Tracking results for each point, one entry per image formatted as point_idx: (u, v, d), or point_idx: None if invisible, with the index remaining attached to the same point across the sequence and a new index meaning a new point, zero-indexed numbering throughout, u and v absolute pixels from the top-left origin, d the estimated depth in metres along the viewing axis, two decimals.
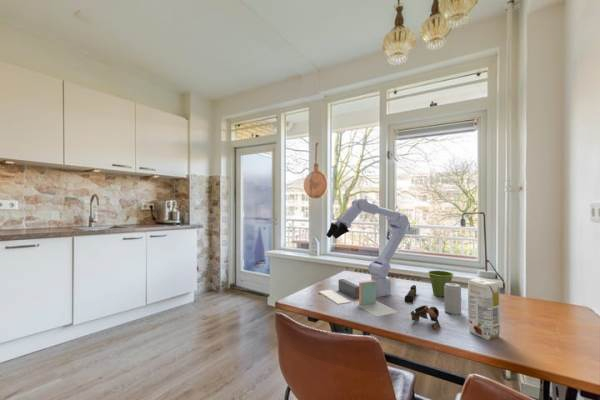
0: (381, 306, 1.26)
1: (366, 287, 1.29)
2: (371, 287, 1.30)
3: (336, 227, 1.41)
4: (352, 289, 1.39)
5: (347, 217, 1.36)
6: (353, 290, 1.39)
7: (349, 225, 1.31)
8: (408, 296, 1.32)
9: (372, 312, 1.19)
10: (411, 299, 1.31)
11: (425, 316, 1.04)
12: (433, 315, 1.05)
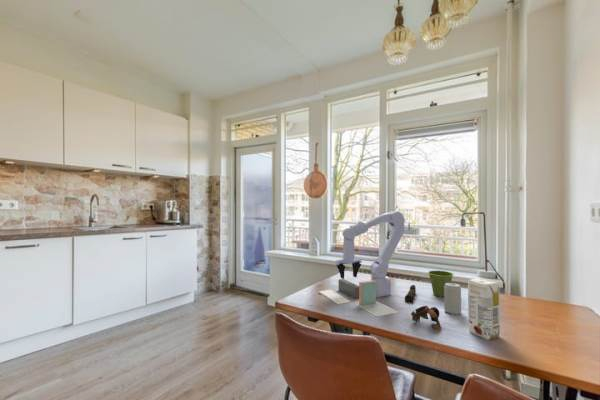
0: (381, 306, 1.26)
1: (366, 287, 1.29)
2: (371, 287, 1.30)
3: (355, 264, 1.46)
4: (352, 289, 1.39)
5: (343, 254, 1.45)
6: (353, 290, 1.39)
7: (336, 262, 1.42)
8: (408, 296, 1.32)
9: (372, 312, 1.19)
10: (411, 299, 1.31)
11: (426, 316, 1.04)
12: (434, 315, 1.04)
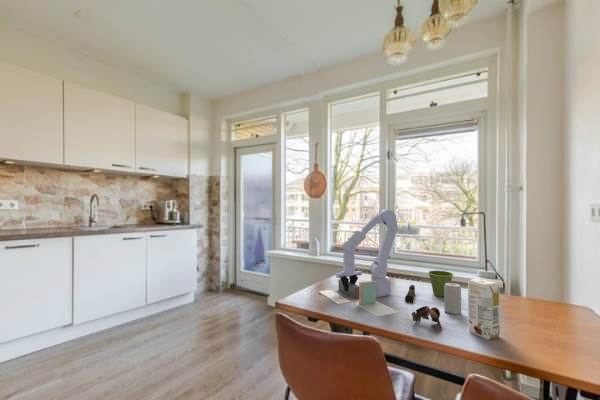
0: (381, 306, 1.26)
1: (366, 287, 1.29)
2: (371, 287, 1.30)
3: (352, 277, 1.45)
4: (352, 288, 1.39)
5: (343, 266, 1.45)
6: (353, 289, 1.39)
7: (337, 275, 1.42)
8: (408, 296, 1.32)
9: (372, 312, 1.19)
10: (411, 299, 1.31)
11: (427, 316, 1.03)
12: (434, 316, 1.04)
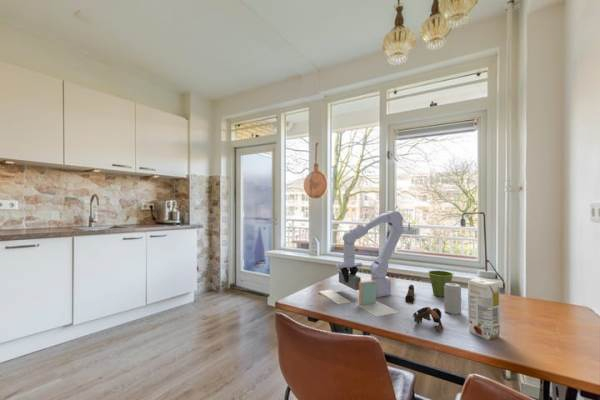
0: (381, 306, 1.26)
1: (366, 287, 1.29)
2: (371, 287, 1.30)
3: (352, 269, 1.45)
4: (352, 279, 1.39)
5: None
6: (353, 280, 1.39)
7: (337, 267, 1.42)
8: (409, 296, 1.32)
9: (372, 312, 1.19)
10: (412, 299, 1.31)
11: (428, 317, 1.03)
12: (436, 317, 1.03)
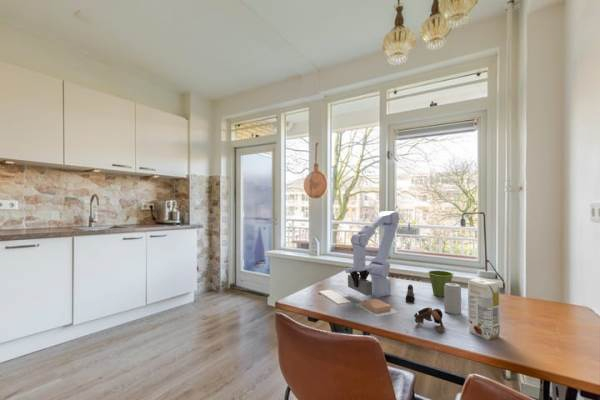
0: None
1: None
2: None
3: (362, 273, 1.37)
4: (363, 284, 1.30)
5: (353, 261, 1.37)
6: (364, 285, 1.30)
7: (346, 270, 1.33)
8: (409, 296, 1.32)
9: (372, 312, 1.19)
10: (412, 299, 1.31)
11: (429, 318, 1.02)
12: (437, 317, 1.02)
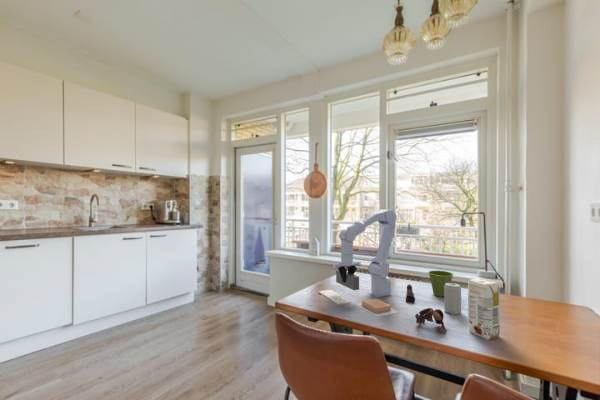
0: None
1: None
2: None
3: (350, 268, 1.38)
4: (350, 279, 1.32)
5: (341, 256, 1.38)
6: (351, 280, 1.31)
7: (334, 265, 1.35)
8: (409, 296, 1.32)
9: (372, 312, 1.19)
10: (412, 299, 1.31)
11: (431, 319, 1.01)
12: (439, 318, 1.02)
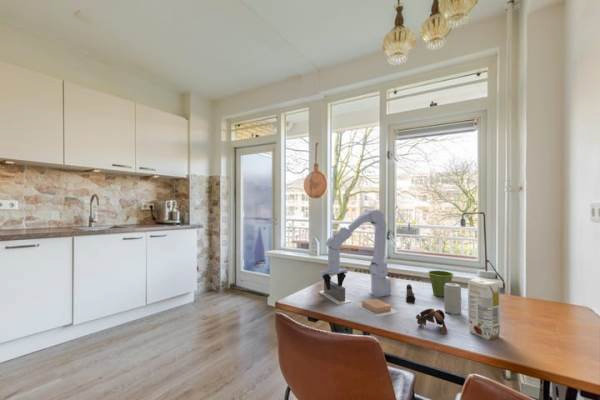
0: None
1: None
2: None
3: (339, 275, 1.40)
4: (337, 290, 1.33)
5: (328, 264, 1.40)
6: (337, 291, 1.33)
7: (321, 273, 1.36)
8: (410, 296, 1.32)
9: (372, 312, 1.19)
10: (413, 299, 1.31)
11: (432, 319, 1.01)
12: (440, 319, 1.01)
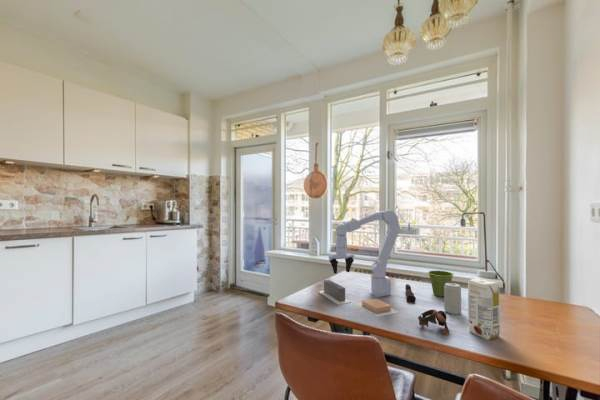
0: None
1: None
2: None
3: (347, 259, 1.49)
4: (337, 290, 1.33)
5: (336, 249, 1.48)
6: (337, 291, 1.33)
7: (329, 257, 1.45)
8: (410, 296, 1.31)
9: (372, 312, 1.19)
10: (413, 299, 1.31)
11: (434, 320, 1.00)
12: (442, 320, 1.00)
